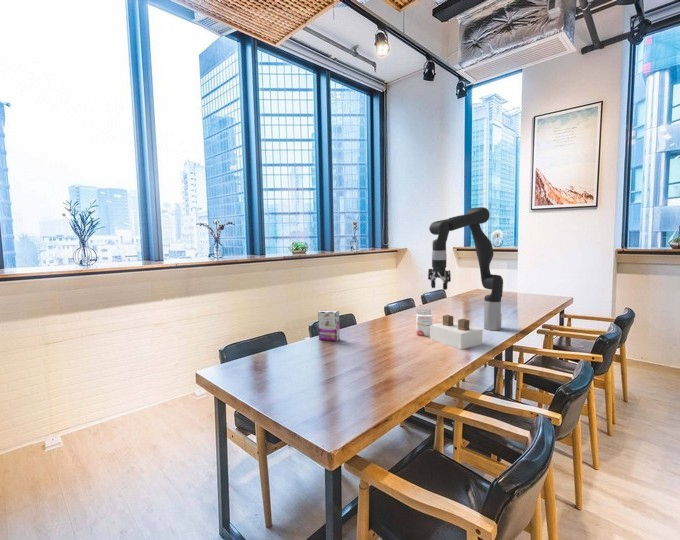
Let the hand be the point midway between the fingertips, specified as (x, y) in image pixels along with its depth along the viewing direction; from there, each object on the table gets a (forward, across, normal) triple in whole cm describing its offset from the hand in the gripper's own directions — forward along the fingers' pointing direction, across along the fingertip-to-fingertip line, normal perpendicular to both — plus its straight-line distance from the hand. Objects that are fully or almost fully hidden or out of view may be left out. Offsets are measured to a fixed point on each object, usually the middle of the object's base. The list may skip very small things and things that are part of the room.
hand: (439, 288), depth 191 cm
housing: (+29, -6, -6) cm, 30 cm away
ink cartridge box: (+29, +13, -2) cm, 32 cm away
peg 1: (+23, 0, -7) cm, 24 cm away
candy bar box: (+29, +35, +50) cm, 67 cm away
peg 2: (+23, -11, -7) cm, 26 cm away
